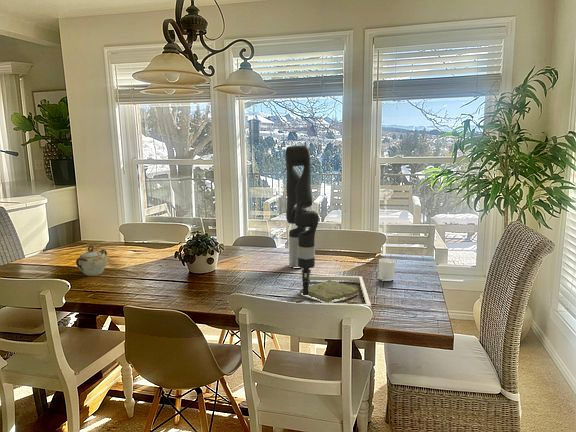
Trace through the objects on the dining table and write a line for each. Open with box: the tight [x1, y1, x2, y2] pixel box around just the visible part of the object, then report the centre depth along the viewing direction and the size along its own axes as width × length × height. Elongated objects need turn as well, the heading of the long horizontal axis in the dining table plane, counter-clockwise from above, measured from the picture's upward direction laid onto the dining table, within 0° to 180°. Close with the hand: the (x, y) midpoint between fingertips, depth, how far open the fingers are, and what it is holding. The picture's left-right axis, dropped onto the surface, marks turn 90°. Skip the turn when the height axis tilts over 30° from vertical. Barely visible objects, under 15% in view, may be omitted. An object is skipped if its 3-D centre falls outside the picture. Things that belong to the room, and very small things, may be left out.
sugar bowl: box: [75, 245, 109, 277], centre depth 215 cm, size 20×15×15 cm
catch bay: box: [310, 274, 372, 309], centre depth 183 cm, size 37×26×3 cm
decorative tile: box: [299, 280, 360, 303], centre depth 183 cm, size 19×20×4 cm
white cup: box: [378, 257, 396, 280], centre depth 203 cm, size 8×8×10 cm
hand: (306, 291), depth 184 cm, fingers open, 8 cm apart
